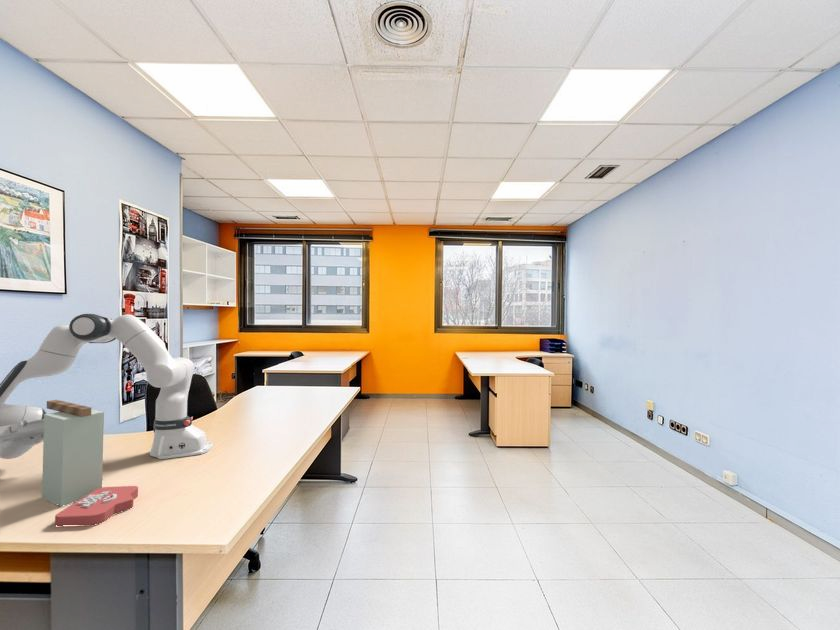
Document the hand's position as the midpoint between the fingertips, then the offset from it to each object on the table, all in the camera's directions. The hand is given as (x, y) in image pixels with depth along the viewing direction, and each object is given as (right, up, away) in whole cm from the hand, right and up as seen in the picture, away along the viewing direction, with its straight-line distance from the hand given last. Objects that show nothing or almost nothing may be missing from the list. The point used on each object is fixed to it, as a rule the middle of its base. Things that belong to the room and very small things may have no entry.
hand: (43, 419), depth 125 cm
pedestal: (+18, -22, -9) cm, 30 cm away
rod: (+15, +4, -7) cm, 17 cm away
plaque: (+35, -23, -16) cm, 45 cm away
